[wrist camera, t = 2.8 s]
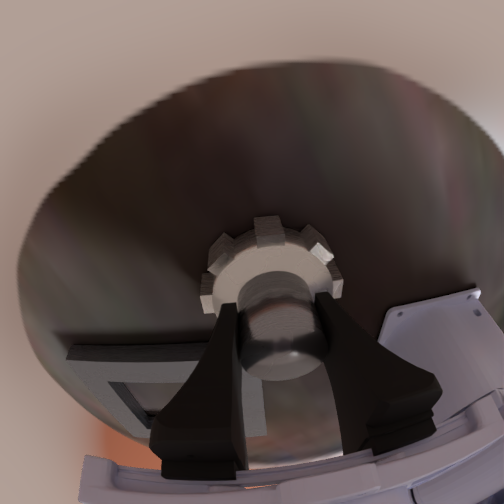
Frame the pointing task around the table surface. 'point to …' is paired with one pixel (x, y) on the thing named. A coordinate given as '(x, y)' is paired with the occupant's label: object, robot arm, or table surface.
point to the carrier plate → (152, 380)
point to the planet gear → (273, 295)
